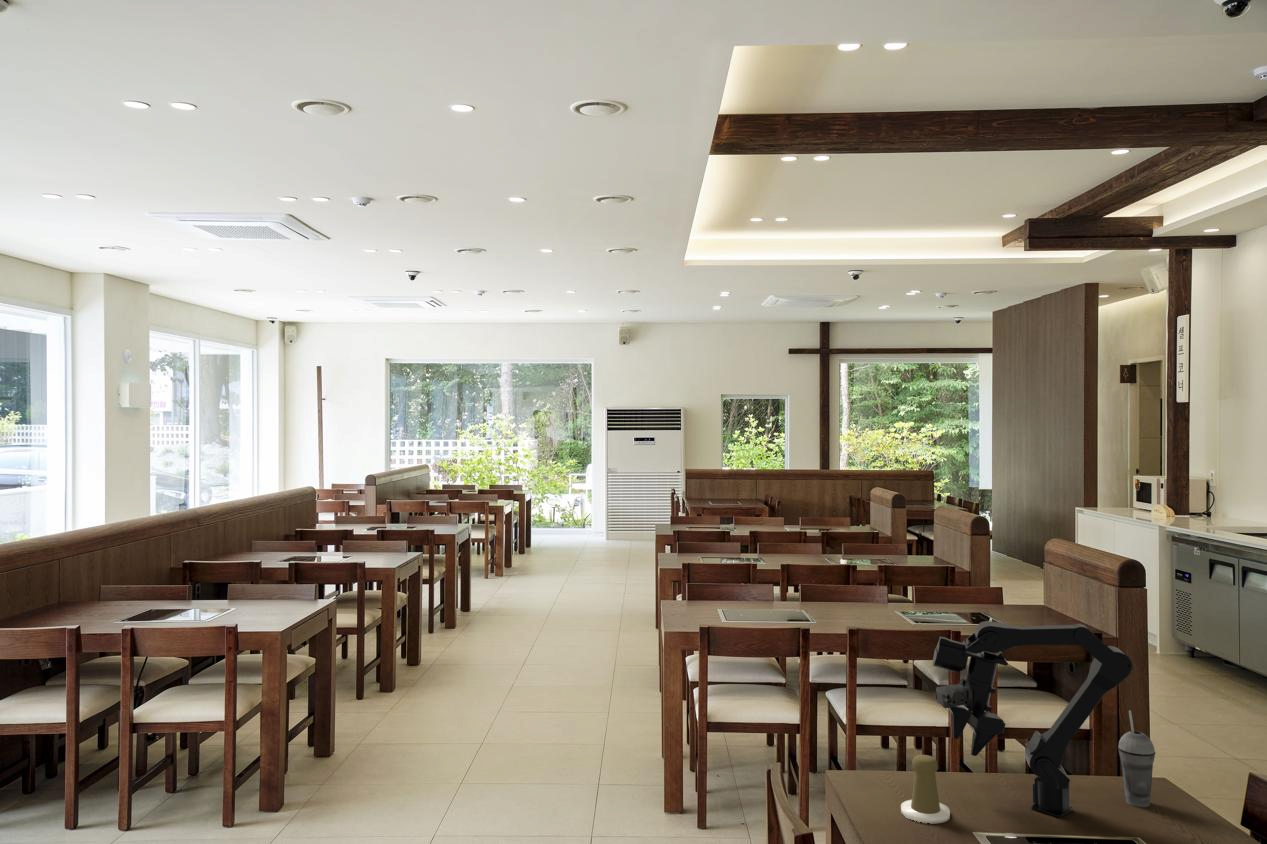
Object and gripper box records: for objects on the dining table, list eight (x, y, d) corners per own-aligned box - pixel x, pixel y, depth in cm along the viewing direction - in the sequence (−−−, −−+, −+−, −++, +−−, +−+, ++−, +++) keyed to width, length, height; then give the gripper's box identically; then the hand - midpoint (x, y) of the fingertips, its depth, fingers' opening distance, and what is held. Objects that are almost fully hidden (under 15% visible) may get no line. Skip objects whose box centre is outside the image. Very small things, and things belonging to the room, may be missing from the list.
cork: (946, 812, 193) (945, 760, 193) (920, 815, 192) (919, 762, 192) (930, 801, 199) (929, 750, 199) (905, 804, 198) (904, 753, 198)
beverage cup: (1149, 812, 195) (1147, 718, 196) (1113, 802, 200) (1111, 711, 201) (1162, 803, 200) (1159, 711, 200) (1126, 794, 205) (1124, 704, 206)
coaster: (959, 815, 194) (959, 809, 195) (932, 827, 188) (932, 822, 188) (919, 801, 202) (918, 795, 202) (891, 812, 196) (891, 807, 196)
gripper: (928, 659, 210) (913, 724, 210) (963, 686, 191) (947, 758, 192) (974, 667, 211) (959, 732, 211) (1013, 696, 192) (997, 767, 193)
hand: (964, 746), depth 202 cm, fingers open, 9 cm apart
